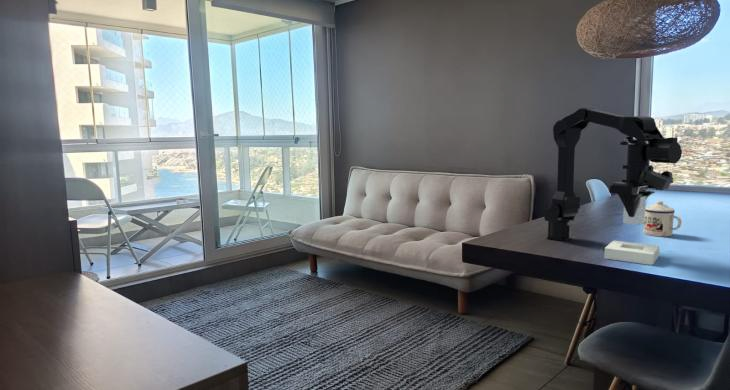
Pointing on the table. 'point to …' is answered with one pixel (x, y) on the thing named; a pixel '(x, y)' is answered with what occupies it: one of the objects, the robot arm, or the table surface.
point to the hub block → (632, 252)
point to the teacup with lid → (660, 220)
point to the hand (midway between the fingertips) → (634, 216)
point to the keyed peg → (636, 213)
